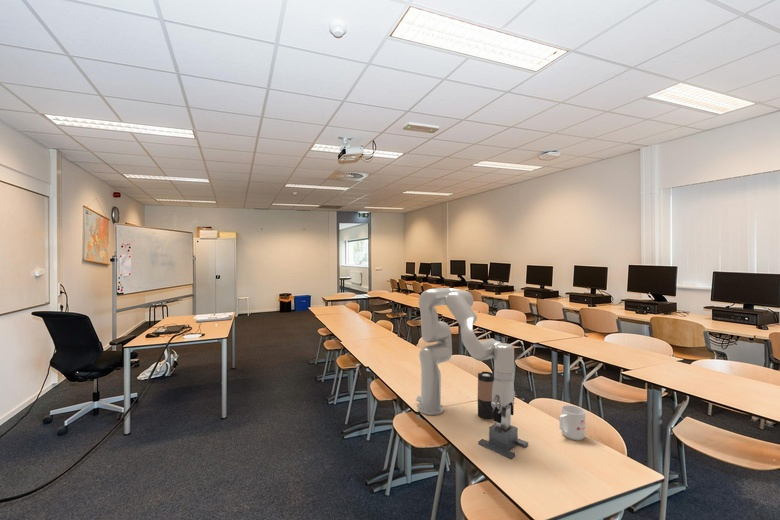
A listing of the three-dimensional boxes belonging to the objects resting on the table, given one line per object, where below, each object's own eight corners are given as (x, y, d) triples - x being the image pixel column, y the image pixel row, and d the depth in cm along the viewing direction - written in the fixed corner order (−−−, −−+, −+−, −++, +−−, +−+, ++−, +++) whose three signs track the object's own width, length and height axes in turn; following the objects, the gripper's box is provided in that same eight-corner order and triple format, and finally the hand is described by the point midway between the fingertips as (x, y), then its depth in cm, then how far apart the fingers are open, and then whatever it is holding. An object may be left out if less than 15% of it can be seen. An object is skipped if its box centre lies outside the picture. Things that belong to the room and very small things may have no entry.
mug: (571, 428, 149) (571, 403, 149) (590, 438, 141) (590, 412, 141) (551, 434, 144) (551, 408, 144) (569, 444, 136) (570, 417, 136)
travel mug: (495, 420, 156) (495, 377, 156) (477, 419, 158) (478, 376, 158) (493, 413, 164) (493, 372, 164) (477, 411, 165) (477, 370, 165)
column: (495, 444, 136) (496, 404, 136) (501, 440, 139) (501, 401, 139) (505, 449, 133) (506, 408, 133) (510, 445, 136) (511, 405, 136)
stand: (478, 444, 136) (478, 424, 136) (496, 432, 146) (496, 413, 146) (511, 459, 126) (511, 437, 126) (528, 445, 136) (528, 425, 136)
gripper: (505, 368, 144) (505, 408, 144) (484, 377, 133) (483, 421, 133) (522, 372, 139) (522, 414, 139) (501, 383, 127) (501, 428, 127)
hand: (503, 417), depth 136 cm, fingers open, 9 cm apart
